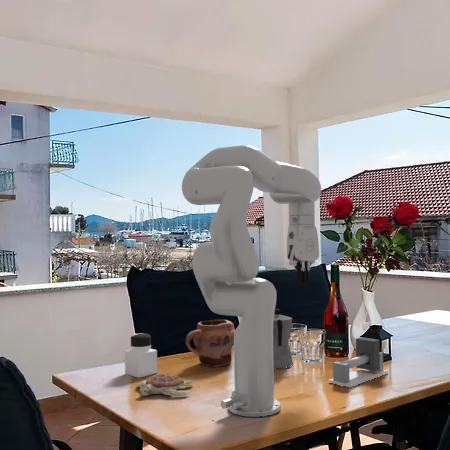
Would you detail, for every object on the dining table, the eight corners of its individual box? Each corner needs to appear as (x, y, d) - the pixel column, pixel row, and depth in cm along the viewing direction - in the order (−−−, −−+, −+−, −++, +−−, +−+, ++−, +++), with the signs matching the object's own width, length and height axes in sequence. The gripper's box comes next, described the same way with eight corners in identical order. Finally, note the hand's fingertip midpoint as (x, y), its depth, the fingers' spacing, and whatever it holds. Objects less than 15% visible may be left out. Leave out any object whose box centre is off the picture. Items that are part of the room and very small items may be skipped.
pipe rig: (350, 388, 145) (349, 365, 145) (328, 383, 150) (328, 361, 150) (387, 373, 159) (387, 352, 159) (366, 369, 164) (366, 349, 164)
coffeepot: (262, 360, 178) (261, 306, 178) (290, 360, 178) (289, 305, 178) (265, 372, 162) (264, 313, 163) (296, 372, 162) (295, 312, 162)
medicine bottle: (157, 373, 164) (157, 333, 164) (139, 378, 159) (138, 337, 159) (143, 369, 169) (142, 331, 169) (124, 374, 164) (124, 334, 164)
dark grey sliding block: (374, 371, 155) (373, 341, 155) (356, 367, 159) (355, 338, 159) (379, 369, 157) (379, 339, 157) (361, 365, 161) (361, 337, 162)
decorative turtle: (118, 393, 146) (118, 374, 146) (163, 379, 158) (163, 362, 158) (163, 407, 134) (163, 387, 134) (209, 391, 146) (208, 372, 146)
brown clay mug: (201, 374, 162) (200, 328, 162) (175, 367, 171) (175, 323, 171) (247, 362, 176) (246, 319, 176) (221, 356, 185) (220, 315, 185)
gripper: (295, 221, 149) (297, 287, 149) (327, 221, 159) (328, 283, 159) (275, 222, 154) (276, 285, 154) (307, 222, 165) (308, 281, 165)
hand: (302, 284), depth 157 cm, fingers closed
